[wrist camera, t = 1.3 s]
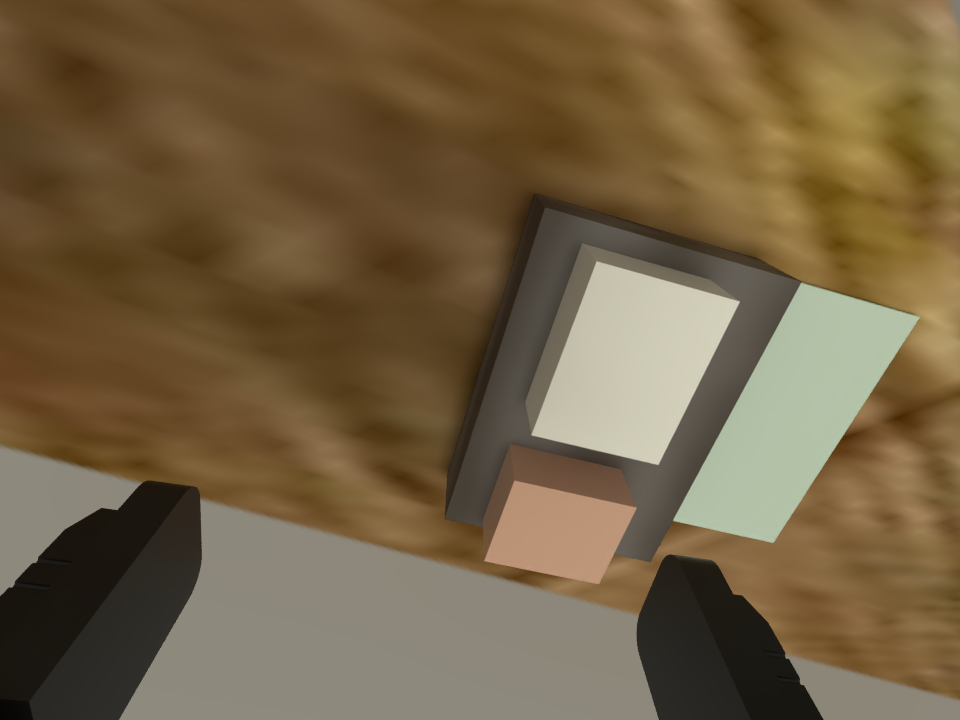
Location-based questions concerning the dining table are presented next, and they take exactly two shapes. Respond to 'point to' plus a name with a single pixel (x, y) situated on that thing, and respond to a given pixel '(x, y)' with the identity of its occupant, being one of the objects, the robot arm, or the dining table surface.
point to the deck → (526, 331)
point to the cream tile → (625, 354)
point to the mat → (794, 411)
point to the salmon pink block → (556, 515)
